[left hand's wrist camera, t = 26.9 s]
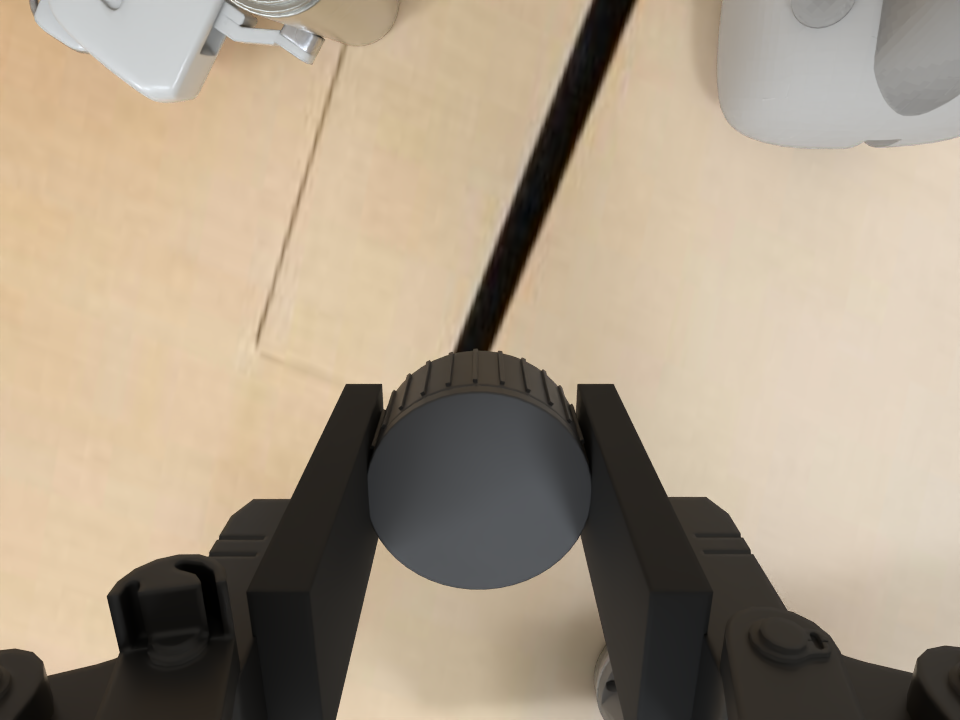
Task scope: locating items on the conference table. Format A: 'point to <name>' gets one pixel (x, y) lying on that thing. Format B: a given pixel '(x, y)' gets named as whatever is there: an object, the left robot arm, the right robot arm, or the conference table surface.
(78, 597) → the conference table surface
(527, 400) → the cap
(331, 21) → the bottle
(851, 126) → the projector
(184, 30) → the right robot arm
